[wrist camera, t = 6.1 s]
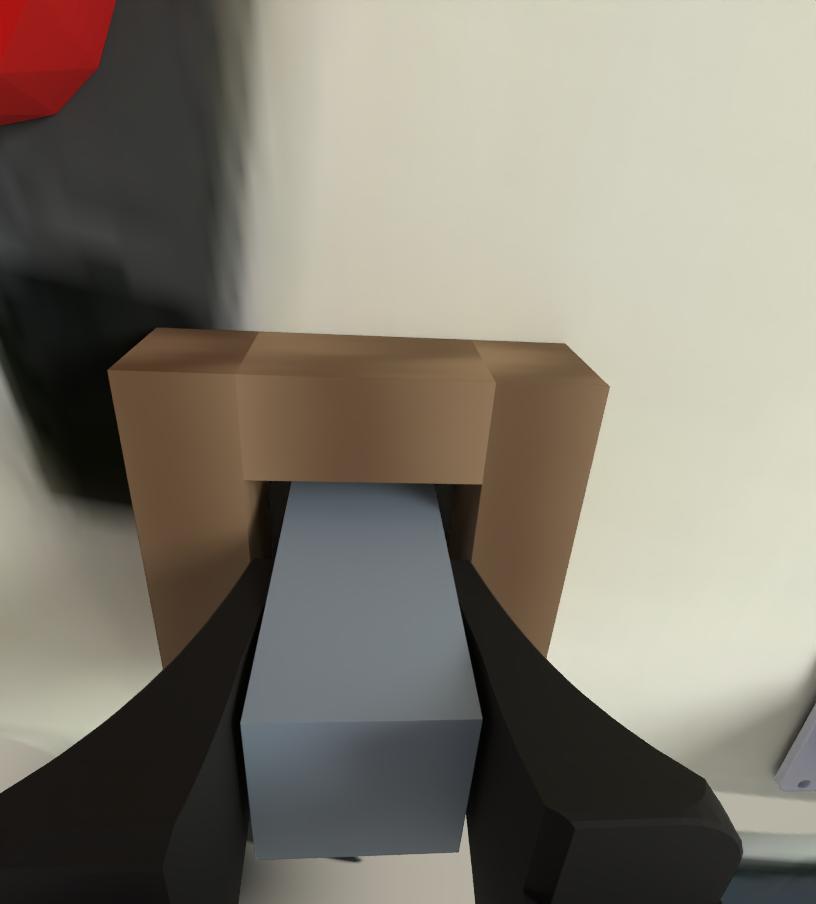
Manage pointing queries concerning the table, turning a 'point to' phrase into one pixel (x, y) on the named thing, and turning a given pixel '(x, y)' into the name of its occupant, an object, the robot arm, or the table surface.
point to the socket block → (352, 452)
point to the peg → (360, 681)
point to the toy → (48, 53)
